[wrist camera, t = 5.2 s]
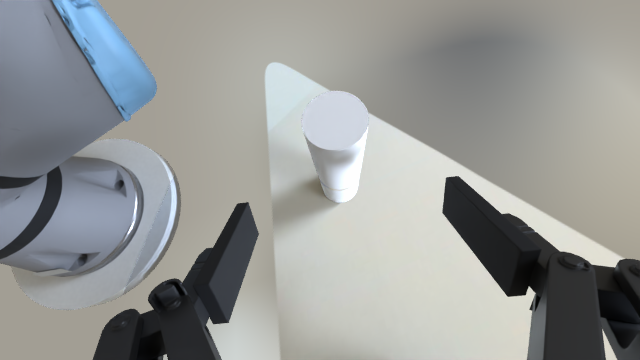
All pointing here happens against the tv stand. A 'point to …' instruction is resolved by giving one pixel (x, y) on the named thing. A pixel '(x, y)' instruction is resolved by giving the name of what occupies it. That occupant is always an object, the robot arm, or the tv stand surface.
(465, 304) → the tv stand surface
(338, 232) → the tv stand surface
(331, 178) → the tube
